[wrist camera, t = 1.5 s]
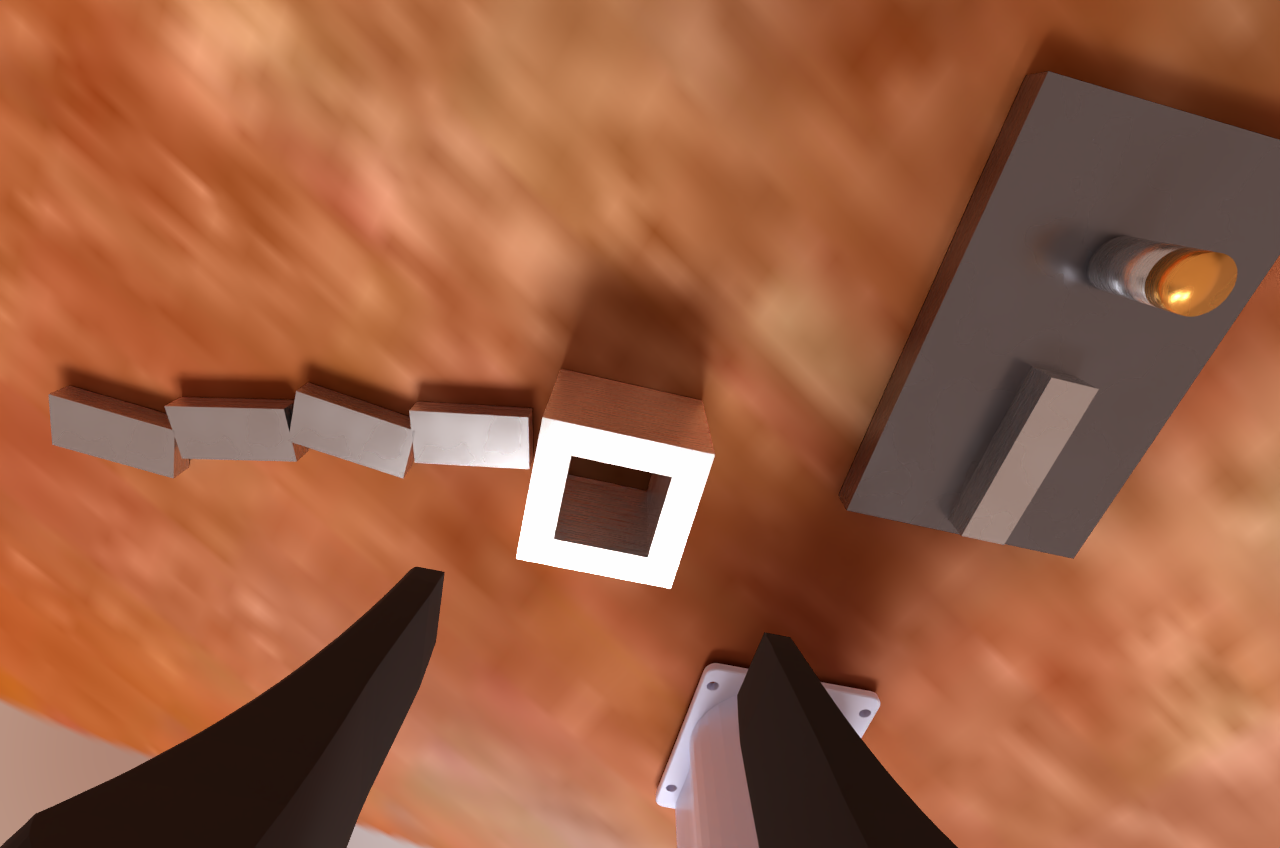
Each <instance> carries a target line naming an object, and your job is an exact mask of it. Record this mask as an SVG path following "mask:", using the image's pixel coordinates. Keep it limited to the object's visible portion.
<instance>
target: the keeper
mask: <svg viewBox="0 0 1280 848" xmlns="http://www.w3.org/2000/svg"><path fill="white" fill-rule="evenodd" d="M1279 255H1280V140H1279V139H1275V138H1272V137H1269V136H1265V135H1262V134H1259V133H1255V132H1252V131H1248V130H1245V129H1242V128H1238V127H1235V126H1232V125H1228V124H1225V123H1222V122H1218V121H1215V120H1211V119H1208V118H1205V117H1201V116H1198V115H1195V114H1191V113H1188V112H1184V111H1181V110H1178V109H1174V108H1171V107H1168V106H1164V105H1161V104H1157V103H1154V102H1151V101H1147V100H1144V99H1141V98H1137V97H1134V96H1131V95H1127V94H1124V93H1120V92H1117V91H1114V90H1110V89H1107V88H1104V87H1100V86H1097V85H1093V84H1090V83H1087V82H1083V81H1080V80H1077V79H1073V78H1070V77H1066V76H1063V75H1060V74H1056V73H1053V72H1050V71H1046V72H1041V73H1036V74H1030V75H1026V77H1025V79H1024V81H1023V83H1022V85H1021V88H1020V90H1019V92H1018V94H1017V97H1016V99H1015V101H1014V103H1013V106H1012V108H1011V110H1010V112H1009V115H1008V117H1007V119H1006V121H1005V124H1004V126H1003V128H1002V130H1001V132H1000V135H999V137H998V139H997V141H996V144H995V146H994V148H993V150H992V153H991V155H990V157H989V159H988V162H987V164H986V166H985V168H984V171H983V173H982V175H981V177H980V180H979V182H978V184H977V186H976V188H975V191H974V193H973V195H972V197H971V200H970V202H969V204H968V206H967V209H966V211H965V213H964V215H963V218H962V220H961V222H960V224H959V227H958V229H957V231H956V233H955V236H954V238H953V240H952V242H951V244H950V247H949V249H948V251H947V253H946V256H945V258H944V260H943V262H942V265H941V267H940V269H939V271H938V274H937V276H936V278H935V280H934V283H933V285H932V287H931V289H930V291H929V294H928V296H927V298H926V300H925V303H924V305H923V307H922V309H921V312H920V314H919V316H918V318H917V321H916V323H915V325H914V327H913V330H912V332H911V334H910V336H909V339H908V341H907V343H906V345H905V347H904V350H903V352H902V354H901V356H900V359H899V361H898V363H897V365H896V368H895V370H894V372H893V374H892V377H891V379H890V381H889V383H888V386H887V388H886V390H885V392H884V395H883V397H882V399H881V401H880V403H879V406H878V408H877V410H876V412H875V415H874V417H873V419H872V421H871V424H870V426H869V428H868V430H867V433H866V435H865V437H864V439H863V442H862V444H861V446H860V448H859V450H858V453H857V455H856V457H855V459H854V462H853V464H852V466H851V468H850V471H849V473H848V475H847V477H846V480H845V482H844V484H843V486H842V489H841V491H840V493H839V495H838V496H839V497H840V499H841V501H842V503H843V505H844V506H845V508H846V510H848V511H852V512H857V513H862V514H866V515H871V516H876V517H880V518H885V519H890V520H895V521H899V522H904V523H909V524H913V525H918V526H923V527H927V528H932V529H937V530H942V531H946V532H951V533H956V534H960V535H961V536H965V537H969V538H974V539H979V540H983V541H988V542H993V543H997V544H1002V545H1004V544H1007V545H1012V546H1017V547H1021V548H1026V549H1031V550H1036V551H1040V552H1045V553H1050V554H1054V555H1059V556H1064V557H1068V558H1073V559H1074V557H1075V556H1076V554H1077V553H1078V551H1079V550H1080V548H1081V547H1082V545H1083V544H1084V542H1085V541H1086V539H1087V538H1088V536H1089V535H1090V533H1091V532H1092V531H1093V529H1094V528H1095V526H1096V525H1097V523H1098V522H1099V520H1100V519H1101V517H1102V516H1103V514H1104V513H1105V511H1106V510H1107V508H1108V507H1109V505H1110V504H1111V503H1112V501H1113V500H1114V498H1115V497H1116V495H1117V494H1118V492H1119V491H1120V489H1121V488H1122V486H1123V485H1124V483H1125V482H1126V480H1127V479H1128V477H1129V476H1130V475H1131V473H1132V472H1133V470H1134V469H1135V467H1136V466H1137V464H1138V463H1139V461H1140V460H1141V458H1142V457H1143V455H1144V454H1145V452H1146V451H1147V449H1148V448H1149V447H1150V445H1151V444H1152V442H1153V441H1154V439H1155V438H1156V436H1157V435H1158V433H1159V432H1160V430H1161V429H1162V427H1163V426H1164V424H1165V423H1166V421H1167V420H1168V419H1169V417H1170V416H1171V414H1172V413H1173V411H1174V410H1175V408H1176V407H1177V405H1178V404H1179V402H1180V401H1181V399H1182V398H1183V396H1184V395H1185V393H1186V392H1187V391H1188V389H1189V388H1190V386H1191V385H1192V383H1193V382H1194V380H1195V379H1196V377H1197V376H1198V374H1199V373H1200V371H1201V370H1202V368H1203V367H1204V365H1205V364H1206V363H1207V361H1208V360H1209V358H1210V357H1211V355H1212V354H1213V352H1214V351H1215V349H1216V348H1217V346H1218V345H1219V343H1220V342H1221V340H1222V339H1223V337H1224V336H1225V335H1226V333H1227V332H1228V330H1229V329H1230V327H1231V326H1232V324H1233V323H1234V321H1235V320H1236V318H1237V317H1238V315H1239V314H1240V312H1241V311H1242V310H1243V308H1244V307H1245V305H1246V304H1247V302H1248V301H1249V299H1250V298H1251V296H1252V295H1253V293H1254V292H1255V290H1256V289H1257V287H1258V286H1259V284H1260V283H1261V282H1262V280H1263V279H1264V277H1265V276H1266V274H1267V273H1268V271H1269V270H1270V268H1271V267H1272V265H1273V264H1274V262H1275V261H1276V259H1277V258H1278V256H1279Z"/></svg>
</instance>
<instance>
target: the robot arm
mask: <svg viewBox="0 0 1280 848" xmlns="http://www.w3.org/2000/svg"><path fill="white" fill-rule="evenodd" d="M444 573H445V572H442V571H437V570H431V569H426V568H421V567H414V568H413V569H411V570H410V571H409V572H408V573H407V574H406V575H405V576H404V577H403V578H402V579H401V580H400V581H399V582H398V583H397V584H396V585H395V586H394V587H393V588H392V589H391V590H390V591H389V592H388V593H387V594H386V595H385V596H384V597H383V598H382V599H381V600H379V601H378V602H377V603H376V604H375V605H374V606H373V607H372V608H371V609H370V610H369V611H368V612H366V613H365V614H364V615H363V616H362V617H361V618H360V619H358V620H357V621H356V622H355V623H354V624H353V625H352V626H350V627H349V628H348V629H347V630H346V631H345V632H344V633H342V634H341V635H340V636H339V637H338V638H336V639H335V640H334V641H333V642H331V643H330V644H329V645H328V646H326V647H325V648H324V649H322V650H321V651H320V652H319V653H317V654H316V655H315V656H314V657H312V658H311V659H310V660H309V661H307V662H306V663H305V664H303V665H302V666H301V667H299V668H298V669H297V670H295V671H294V672H293V673H291V674H290V675H288V676H287V677H286V678H284V679H283V680H281V681H280V682H279V683H277V684H276V685H274V686H273V687H271V688H270V689H268V690H267V691H265V692H264V693H262V694H261V695H260V696H258V697H257V698H255V699H254V700H252V701H250V702H249V703H247V704H246V705H244V706H242V707H241V708H239V709H238V710H236V711H234V712H233V713H231V714H230V715H228V716H226V717H225V718H223V719H222V720H220V721H218V722H217V723H215V724H213V725H212V726H210V727H208V728H207V729H205V730H203V731H202V732H200V733H198V734H196V735H195V736H193V737H191V738H189V739H187V740H185V741H184V742H182V743H180V744H178V745H176V746H174V747H172V748H171V749H169V750H167V751H165V752H163V753H161V754H159V755H158V756H156V757H154V758H152V759H150V760H148V761H146V762H145V763H143V764H141V765H139V766H137V767H135V768H133V769H131V770H129V771H127V772H125V773H123V774H121V775H119V776H117V777H115V778H113V779H111V780H109V781H107V782H104V783H102V784H100V785H98V786H96V787H94V788H91V789H89V790H87V791H85V792H83V793H81V794H79V795H77V796H74V797H72V798H70V799H68V800H66V801H63V802H61V803H59V804H57V805H55V806H53V807H50V808H48V809H46V810H43V811H41V812H39V813H36V814H35V815H34V816H33V817H32V818H31V819H30V820H29V821H28V822H27V823H26V824H25V825H24V826H23V827H21V828H20V829H19V830H18V831H17V832H16V833H15V834H14V835H13V836H12V837H10V838H9V839H8V840H7V841H6V842H5V843H4V844H3V845H2V846H1V847H0V848H347V845H348V842H349V840H350V837H351V834H352V832H353V829H354V827H355V824H356V821H357V819H358V816H359V814H360V812H361V809H362V807H363V805H364V803H365V800H366V798H367V796H368V793H369V791H370V789H371V787H372V785H373V783H374V781H375V779H376V777H377V775H378V773H379V771H380V769H381V766H382V764H383V762H384V760H385V758H386V756H387V754H388V752H389V750H390V748H391V746H392V744H393V742H394V740H395V738H396V736H397V733H398V731H399V729H400V727H401V725H402V723H403V721H404V719H405V717H406V715H407V713H408V711H409V709H410V706H411V704H412V702H413V700H414V698H415V696H416V694H417V692H418V690H419V688H420V685H421V682H422V679H423V677H424V674H425V671H426V668H427V666H428V663H429V660H430V657H431V654H432V651H433V648H434V646H435V643H436V636H437V629H438V621H439V613H440V605H441V597H442V589H443V581H444ZM710 682H714V683H710ZM880 704H881V703H880V700H879V698H878V695H877V694H876V693H875V692H872V691H867V690H862V689H856V688H851V687H845V686H840V685H835V684H829V683H824V682H820V680H819V679H818V677H817V676H816V674H815V673H814V672H813V670H812V669H811V667H810V666H809V664H808V663H807V661H806V660H805V658H804V657H803V655H802V654H801V652H800V651H799V649H798V648H797V646H796V645H795V643H794V642H793V641H792V639H791V638H790V637H786V636H780V635H775V634H770V633H765V632H764V635H763V637H762V639H761V642H760V644H759V646H758V649H757V651H756V653H755V655H754V658H753V660H752V662H751V665H750V667H749V669H747V668H742V667H736V666H731V665H725V664H720V663H712V664H709V665H708V666H706V668H705V669H704V671H703V674H702V676H701V679H700V681H699V684H698V686H697V689H696V692H695V694H694V697H693V699H692V702H691V704H690V707H689V709H688V712H687V715H686V717H685V720H684V722H683V725H682V727H681V730H680V732H679V735H678V738H677V740H676V743H675V745H674V748H673V750H672V753H671V755H670V758H669V761H668V763H667V766H666V768H665V771H664V773H663V776H662V778H661V781H660V784H659V786H658V789H657V791H656V802H657V804H659V805H660V806H663V807H669V808H675V813H676V834H677V848H958V847H957V846H956V845H955V844H954V843H953V842H952V841H951V840H950V839H949V838H948V837H947V836H946V835H945V834H944V833H943V832H942V831H941V830H940V829H939V828H938V827H937V826H936V825H935V824H934V823H933V822H932V821H931V820H930V819H929V818H928V817H927V816H926V815H925V814H924V813H923V812H922V811H921V809H920V808H919V807H918V806H917V805H916V804H915V803H914V802H913V800H912V799H911V798H910V797H909V796H908V795H907V794H906V793H905V791H904V790H903V789H902V788H901V787H900V786H899V785H898V784H897V782H896V781H895V780H894V779H893V778H892V777H891V775H890V774H889V773H888V772H887V771H886V769H885V768H884V767H883V766H882V765H881V763H880V762H879V761H878V759H877V758H876V757H875V756H874V754H873V753H872V752H871V751H870V749H869V748H868V747H867V746H866V744H865V743H864V742H863V740H862V739H861V738H862V736H863V734H864V733H865V731H866V729H867V727H868V726H869V724H870V722H871V721H872V719H873V717H874V715H875V714H876V712H877V710H878V709H879V707H880Z"/></svg>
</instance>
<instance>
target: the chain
mask: <svg viewBox="0 0 1280 848" xmlns="http://www.w3.org/2000/svg"><path fill="white" fill-rule="evenodd" d="M49 406H50V419H51V433H52V445H56V446H59V447H63V448H66V449H70V450H74V451H77V452H81V453H84V454H88V455H92V456H95V457H99V458H102V459H106V460H110V461H113V462H117V463H120V464H124V465H128V466H131V467H135V468H138V469H142V470H145V471H149V472H153V473H156V474H160V475H163V476H167V477H171V478H175V477H176V476H177V475H179V474H180V473H182V472H183V471H185V470H186V469H187V468H189V459H219V460H259V461H298V460H299V459H300V458H301V457H302V456H303V455H304V454H306V453H307V452H308V448H311V449H314V450H317V451H320V452H323V453H326V454H329V455H333V456H336V457H339V458H342V459H345V460H348V461H351V462H354V463H357V464H360V465H363V466H367V467H370V468H373V469H376V470H379V471H382V472H385V473H388V474H391V475H394V476H397V477H401V478H404V476H405V475H406V474H407V472H408V471H409V469H410V468H411V466H412V462H413V458H414V459H415V463H429V464H447V465H465V466H482V467H500V468H518V469H530V466H531V463H532V460H533V418H532V408H524V407H507V406H489V405H472V404H455V403H438V402H420V401H417V402H416V403H415V404H414V406H413V407H412V408H411V409H410V410H409V414H410V417H409V416H406V415H403V414H400V413H397V412H394V411H391V410H388V409H385V408H382V407H380V406H377V405H374V404H371V403H368V402H365V401H362V400H359V399H356V398H353V397H350V396H347V395H344V394H341V393H338V392H335V391H332V390H330V389H327V388H324V387H321V386H318V385H315V384H312V383H309V382H308V383H307V384H305V385H304V386H303V387H301V388H300V389H298V390H297V391H296V395H295V400H278V399H239V398H201V397H180V398H178V399H176V400H175V401H173V402H171V403H169V404H167V405H165V406H164V407H165V410H166V413H167V414H166V413H162V412H159V411H155V410H152V409H149V408H145V407H142V406H138V405H135V404H131V403H128V402H125V401H121V400H118V399H114V398H111V397H108V396H104V395H101V394H97V393H94V392H90V391H87V390H84V389H80V388H77V387H73V386H67V387H65V388H62V389H60V390H57V391H55V392H53V393H50V394H49Z"/></svg>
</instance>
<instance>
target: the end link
mask: <svg viewBox="0 0 1280 848" xmlns="http://www.w3.org/2000/svg"><path fill="white" fill-rule="evenodd" d="M572 456H576V457H580V458H585V459H590V460H594V461H599V462H604V463H609V464H613V465H618V466H623V467H627V468H632V469H637V470H642V471H646V472H651V473H652V475H651V479H650V482H649V486H648V489H647V491H645V490H641V489H636V488H631V487H626V486H622V485H617V484H612V483H607V482H602V481H598V480H593V479H588V478H583V477H579V476H574V475H569V474H568V472H569V468H570V463H571V458H572ZM714 456H715V453H714V448H713V444H712V440H711V435H710V431H709V427H708V422H707V418H706V414H705V409H704V405H703V401H702V400H698V399H693V398H689V397H684V396H680V395H675V394H671V393H667V392H662V391H658V390H653V389H649V388H644V387H640V386H636V385H631V384H627V383H622V382H618V381H613V380H609V379H605V378H600V377H596V376H591V375H587V374H582V373H578V372H574V371H569V370H565V369H560V372H559V374H558V377H557V380H556V382H555V385H554V388H553V390H552V393H551V396H550V398H549V401H548V404H547V407H546V409H545V412H544V415H543V417H542V423H541V428H540V433H539V439H538V444H537V449H536V455H535V460H534V465H533V471H532V476H531V481H530V487H529V492H528V497H527V503H526V508H525V513H524V519H523V524H522V529H521V535H520V540H519V546H518V551H517V556H516V559H521V560H526V561H531V562H536V563H541V564H547V565H552V566H557V567H562V568H567V569H572V570H578V571H583V572H588V573H593V574H598V575H603V576H608V577H614V578H619V579H624V580H629V581H634V582H639V583H645V584H650V585H655V586H660V587H665V588H670V589H671V586H672V583H673V580H674V577H675V574H676V571H677V568H678V565H679V562H680V559H681V556H682V553H683V550H684V547H685V544H686V541H687V538H688V535H689V532H690V529H691V525H692V522H693V519H694V516H695V513H696V510H697V507H698V504H699V501H700V498H701V495H702V492H703V489H704V486H705V483H706V480H707V477H708V474H709V471H710V468H711V465H712V462H713V459H714Z"/></svg>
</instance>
